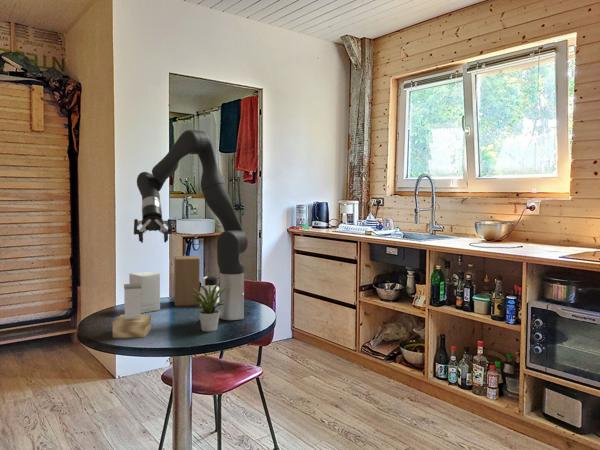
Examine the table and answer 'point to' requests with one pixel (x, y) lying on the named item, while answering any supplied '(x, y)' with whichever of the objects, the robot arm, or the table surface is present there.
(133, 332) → the oak stand
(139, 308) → the tea tin
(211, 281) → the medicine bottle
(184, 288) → the wooden block
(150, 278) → the supplement box
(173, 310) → the table surface
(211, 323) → the house plant
